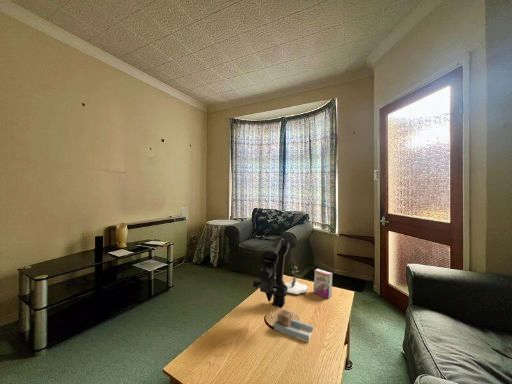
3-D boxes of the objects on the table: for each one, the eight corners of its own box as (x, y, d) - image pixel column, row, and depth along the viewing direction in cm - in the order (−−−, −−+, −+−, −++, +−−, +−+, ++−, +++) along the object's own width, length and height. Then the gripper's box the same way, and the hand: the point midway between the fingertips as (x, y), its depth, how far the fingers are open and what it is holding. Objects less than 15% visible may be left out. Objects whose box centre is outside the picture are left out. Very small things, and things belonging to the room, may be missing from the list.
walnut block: (277, 327, 113) (277, 314, 112) (280, 321, 117) (281, 309, 117) (288, 331, 110) (288, 317, 109) (291, 325, 114) (291, 312, 114)
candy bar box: (313, 293, 150) (314, 270, 149) (316, 290, 153) (317, 268, 153) (328, 299, 142) (329, 275, 142) (331, 296, 146) (332, 272, 145)
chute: (274, 329, 111) (274, 324, 111) (280, 320, 119) (280, 315, 119) (308, 342, 103) (308, 336, 103) (312, 331, 111) (312, 326, 110)
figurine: (301, 297, 142) (303, 272, 142) (277, 290, 152) (278, 267, 152) (311, 288, 158) (312, 266, 159) (289, 282, 168) (290, 261, 169)
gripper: (247, 274, 114) (247, 303, 114) (280, 283, 105) (279, 314, 106) (257, 267, 124) (256, 294, 124) (288, 275, 115) (287, 303, 116)
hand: (269, 301), depth 117 cm, fingers closed
